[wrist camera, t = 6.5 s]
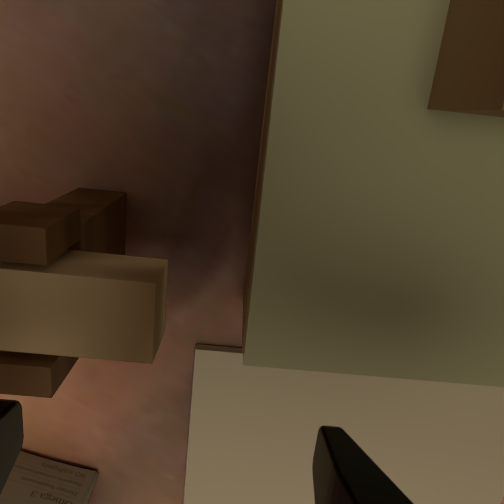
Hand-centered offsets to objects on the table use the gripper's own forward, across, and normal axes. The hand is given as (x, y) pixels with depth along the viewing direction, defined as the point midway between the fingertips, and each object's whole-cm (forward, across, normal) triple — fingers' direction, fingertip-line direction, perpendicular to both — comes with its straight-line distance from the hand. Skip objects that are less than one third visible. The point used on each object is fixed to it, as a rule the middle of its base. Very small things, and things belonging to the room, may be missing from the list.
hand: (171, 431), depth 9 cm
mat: (+12, -8, +17) cm, 22 cm away
